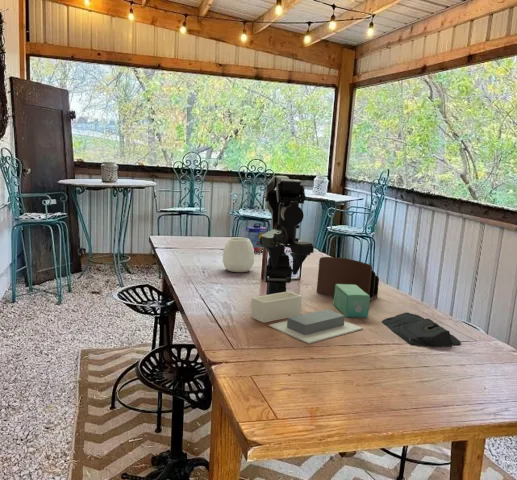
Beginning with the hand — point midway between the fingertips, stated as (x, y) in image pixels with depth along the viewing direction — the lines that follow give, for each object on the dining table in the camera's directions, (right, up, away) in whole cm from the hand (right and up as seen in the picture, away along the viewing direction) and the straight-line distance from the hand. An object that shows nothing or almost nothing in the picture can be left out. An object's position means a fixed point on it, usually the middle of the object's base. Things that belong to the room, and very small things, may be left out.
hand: (284, 271), depth 154 cm
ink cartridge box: (-10, +4, +102) cm, 102 cm away
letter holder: (+24, -10, +27) cm, 38 cm away
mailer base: (-3, -13, -2) cm, 14 cm away
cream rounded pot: (-17, -3, +55) cm, 58 cm away
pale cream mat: (+9, -15, -11) cm, 21 cm away
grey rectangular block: (+9, -15, -11) cm, 20 cm away
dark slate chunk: (+38, -18, -10) cm, 43 cm away
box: (+22, -14, +7) cm, 26 cm away
